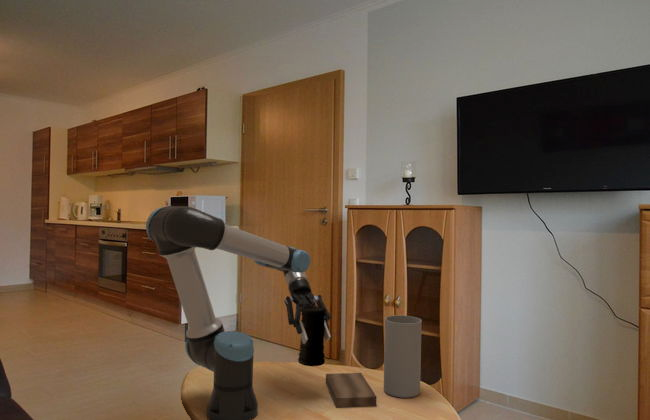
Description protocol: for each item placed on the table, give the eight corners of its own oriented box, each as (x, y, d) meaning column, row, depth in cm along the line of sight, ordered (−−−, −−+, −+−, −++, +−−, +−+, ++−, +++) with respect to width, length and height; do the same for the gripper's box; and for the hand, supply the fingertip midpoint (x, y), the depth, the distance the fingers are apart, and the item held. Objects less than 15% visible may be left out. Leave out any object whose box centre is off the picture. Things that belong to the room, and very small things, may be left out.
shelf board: (336, 407, 143) (336, 398, 143) (325, 382, 165) (326, 373, 165) (376, 406, 145) (376, 396, 145) (360, 381, 167) (361, 372, 167)
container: (299, 357, 157) (301, 305, 158) (325, 358, 157) (327, 306, 157) (296, 365, 148) (298, 310, 149) (324, 367, 148) (326, 311, 148)
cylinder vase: (387, 382, 166) (388, 314, 166) (421, 387, 162) (423, 317, 162) (380, 395, 154) (382, 321, 154) (418, 401, 150) (419, 325, 150)
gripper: (319, 289, 172) (339, 343, 157) (268, 291, 162) (284, 349, 147) (327, 277, 167) (348, 331, 152) (274, 278, 157) (292, 337, 143)
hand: (317, 340), depth 150 cm, fingers closed on container, 8 cm apart
